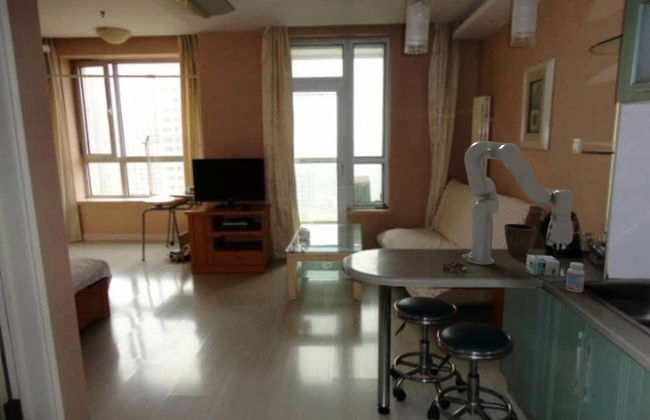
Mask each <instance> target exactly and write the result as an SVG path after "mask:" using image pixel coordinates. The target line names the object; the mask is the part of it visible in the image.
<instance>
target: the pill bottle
mask: <svg viewBox="0 0 650 420" xmlns="http://www.w3.org/2000/svg"><path fill="white" fill-rule="evenodd" d="M584 267H585V264H583V263H581V262H577V261H575V262H574V261H571V262H570V264H569V268H568V269H567V271H566V278H567V279H566V280H565V289H566V290H567V291H569V292H571V293H582V292H583V291H584V284H585V275H586V273H585V272H586V271H585V270H584Z"/></svg>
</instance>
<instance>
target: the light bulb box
mask: <svg viewBox="0 0 650 420" xmlns="http://www.w3.org/2000/svg"><path fill="white" fill-rule="evenodd" d="M525 269H526V270H529V271H530V272H531V273H532V274H533V275H532V274H531V275H532V276H534V275H550V276H558V275H559V270H560V261H559V260H557V258H555V257H553V255H540V254H538V255H536V254H526V265H525Z"/></svg>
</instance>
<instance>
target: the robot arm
mask: <svg viewBox="0 0 650 420" xmlns="http://www.w3.org/2000/svg"><path fill="white" fill-rule="evenodd" d="M484 159H488V160H489V159H491V160H497V161H500V162H501V163H502V164H503V165H504V166H505V168H506V169H507V170H508V172H510V174H511V175H512V176H513V177H514V179H515V180H516V182H517V184H518V186H519V187H520V189H521V190H522V191H523V193H524V195H526V196H527V197H528V199H529V200H530V202H532V203H533V204H534V205H535V206H538V207H544V206H547V205H552V207H551V214H550V217H549V218H550V220H549V223H548V227H547V231H546V241H547V243H546V244H547V245H548V246H551V248H552V249H553V251H552V252H553V253H552V257H553V258H555V259H562V255H563V250H564V248H565V246H568V245H570V244H571V243H572V241H573V236H574V235H573V233H574V228H573V227H574V226H573V221H572V219H571V218H572V217H571V216H572V209H573V207H572V206H573V198H574V193H573V191H572V190H569V189H553V188H549V187H543V186H542V185H541V184H540V182H539V181H538V179H537V178H536V176H535V173H534V169H533V167H532V165H531V164H530V163H529V161H527V160H526V158H525V157H524V156H523V155H522V153H521V149H520V147H519V146H518V145H517V144H515V143H509V142H507V143H506V142H499V141H497V142H496V141H489V140H487V141H486V140H485V141H484V140H479V141H477V142H474V143H473V144H471V145H470V146H469V147H468V149H466V151H465V155H464V166H465V171H466V176H467V181H468V184H469V185H468V186H469V192H470V193H471V194H472V196H474V197H477V200H476V202H475V203H474V204H473V205H472V209H471V215H472V217H471V218H472V231H471V247H470V248H471V249H470V251H469V252H468V253H466V254H465V253H464V254H462V255H461V259H467V261H468V262H469V263H471V264H475V265H481V266H482V265H484V266H487V265H488V266H489V265H493V264H494V263H495V260H494V259H493V258H492V248H493V247H492V246H493V245H492V244H493V234H494V232H493V231H494V230H493V229H494V220H493V216H496V214H497V213H498V212H499V209H500V203H499V199H498V192H497V190H496V189H497V188H496V185H495V182H494V181H493V179H491V178H490V177H488V176H487V173H486V169H485V165H484V163H483V161H484Z"/></svg>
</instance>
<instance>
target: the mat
mask: <svg viewBox="0 0 650 420" xmlns="http://www.w3.org/2000/svg"><path fill="white" fill-rule="evenodd" d="M522 271H523V272H525V273H527V274H530V275H532V276H534V277H536V278H539V279H542V281H543V280H544V281H546V282H547V283H550V282H561V281H563V282H564V281H565V282H566V279H567V277H565V276H562V275H560V274H558V276H550V275H533V274H532V273H531V272H530V271H529V270H528V269H523V270H522Z"/></svg>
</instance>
